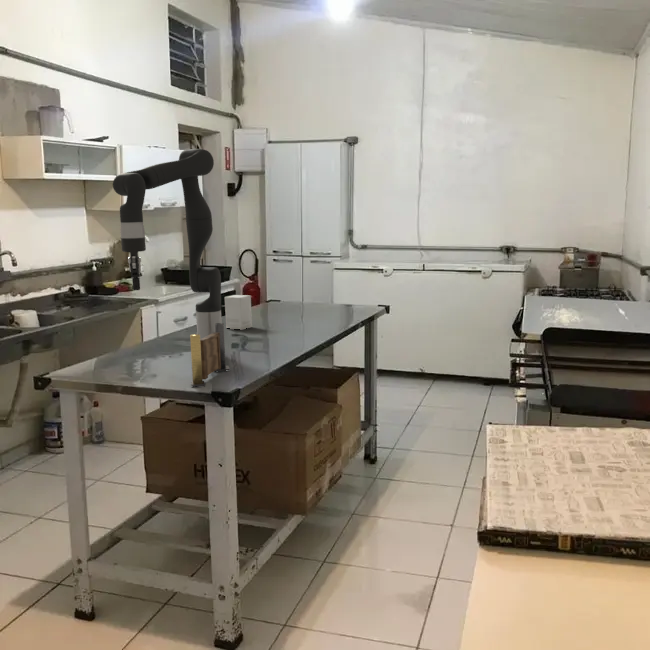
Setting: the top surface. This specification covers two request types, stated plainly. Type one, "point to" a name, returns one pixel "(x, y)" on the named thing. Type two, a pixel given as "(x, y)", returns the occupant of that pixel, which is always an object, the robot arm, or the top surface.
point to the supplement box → (238, 311)
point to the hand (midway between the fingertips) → (136, 289)
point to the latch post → (196, 360)
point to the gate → (210, 354)
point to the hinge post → (221, 346)
